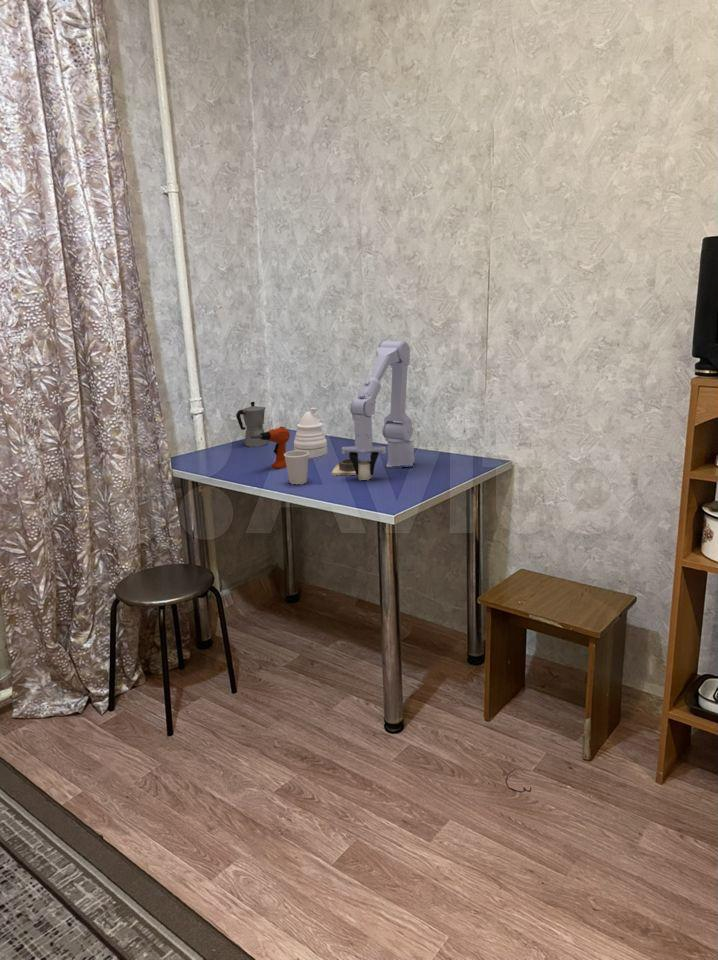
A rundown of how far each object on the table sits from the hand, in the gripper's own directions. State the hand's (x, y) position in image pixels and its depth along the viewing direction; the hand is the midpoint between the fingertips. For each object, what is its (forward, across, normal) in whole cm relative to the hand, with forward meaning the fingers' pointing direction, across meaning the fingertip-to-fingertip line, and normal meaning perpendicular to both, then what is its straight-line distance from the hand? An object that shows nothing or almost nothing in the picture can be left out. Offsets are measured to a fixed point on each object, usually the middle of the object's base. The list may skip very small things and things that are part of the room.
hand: (364, 474), depth 235 cm
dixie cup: (+2, -22, -4) cm, 22 cm away
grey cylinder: (+2, 0, 0) cm, 2 cm away
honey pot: (+2, -25, +35) cm, 43 cm away
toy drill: (+2, -35, +13) cm, 37 cm away
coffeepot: (+2, -52, +51) cm, 73 cm away
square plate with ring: (+2, -6, +10) cm, 12 cm away
